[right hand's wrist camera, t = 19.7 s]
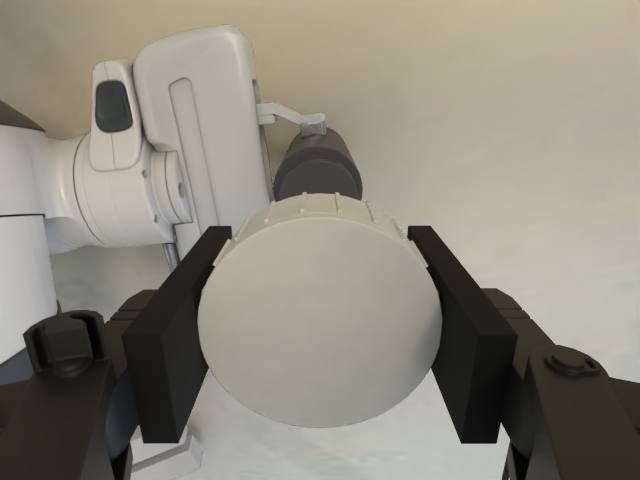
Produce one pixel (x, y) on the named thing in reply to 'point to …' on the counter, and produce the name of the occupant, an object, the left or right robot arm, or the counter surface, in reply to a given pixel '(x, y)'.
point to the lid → (319, 313)
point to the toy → (164, 458)
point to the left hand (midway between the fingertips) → (330, 168)
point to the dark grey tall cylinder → (318, 168)
